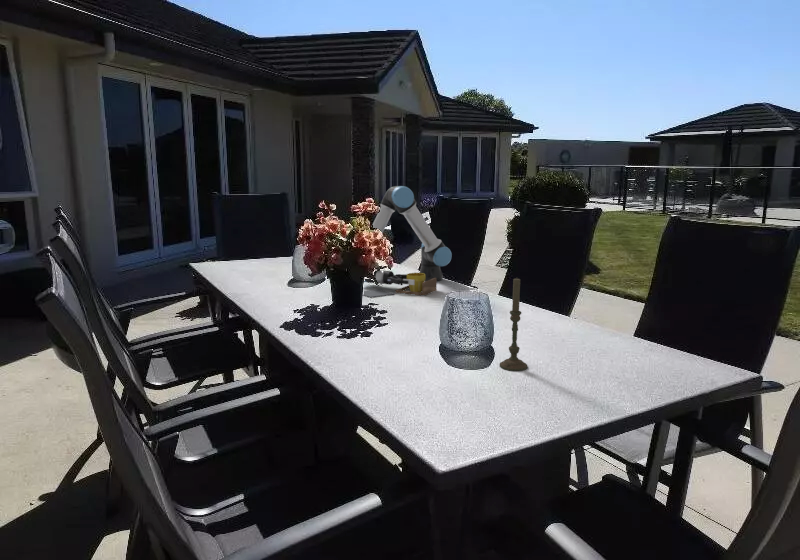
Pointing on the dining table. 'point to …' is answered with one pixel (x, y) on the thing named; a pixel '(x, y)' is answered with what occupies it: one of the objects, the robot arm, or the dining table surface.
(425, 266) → the robot arm
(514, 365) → the candlestick holder
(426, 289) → the dock
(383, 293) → the mat
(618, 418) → the dining table surface
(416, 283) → the plant pot
